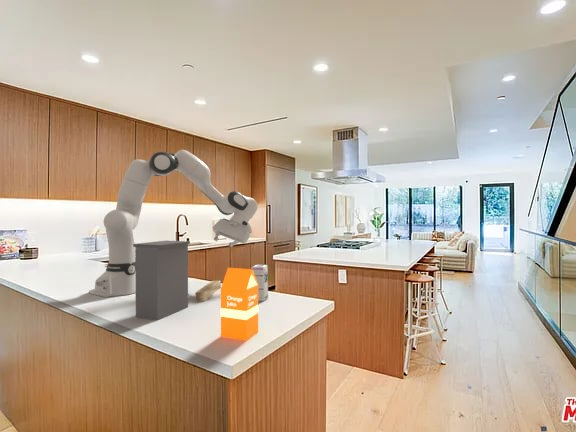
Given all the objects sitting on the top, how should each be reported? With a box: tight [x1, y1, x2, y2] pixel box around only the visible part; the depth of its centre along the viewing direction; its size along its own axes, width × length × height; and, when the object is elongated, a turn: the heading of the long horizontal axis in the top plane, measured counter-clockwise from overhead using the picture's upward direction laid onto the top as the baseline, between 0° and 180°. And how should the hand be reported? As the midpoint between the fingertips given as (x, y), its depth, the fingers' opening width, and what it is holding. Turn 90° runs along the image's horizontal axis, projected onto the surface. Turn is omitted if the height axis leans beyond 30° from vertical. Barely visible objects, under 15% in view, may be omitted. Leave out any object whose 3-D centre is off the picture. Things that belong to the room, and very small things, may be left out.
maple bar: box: [195, 280, 222, 302], centre depth 145 cm, size 4×24×4 cm, turn 176°
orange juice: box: [220, 267, 259, 342], centre depth 96 cm, size 8×9×20 cm
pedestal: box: [133, 240, 191, 321], centre depth 118 cm, size 12×16×26 cm
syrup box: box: [250, 264, 269, 302], centre depth 136 cm, size 6×6×14 cm
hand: (222, 243), depth 159 cm, fingers open, 8 cm apart
